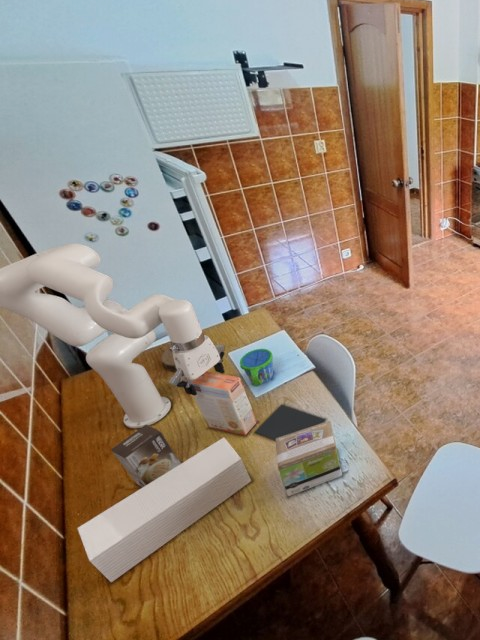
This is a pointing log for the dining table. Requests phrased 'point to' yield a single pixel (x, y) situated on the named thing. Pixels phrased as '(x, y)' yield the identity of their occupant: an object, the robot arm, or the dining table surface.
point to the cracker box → (224, 403)
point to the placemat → (287, 422)
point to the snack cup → (258, 366)
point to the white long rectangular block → (162, 509)
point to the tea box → (307, 458)
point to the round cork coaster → (168, 360)
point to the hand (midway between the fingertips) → (206, 382)
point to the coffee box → (146, 455)
